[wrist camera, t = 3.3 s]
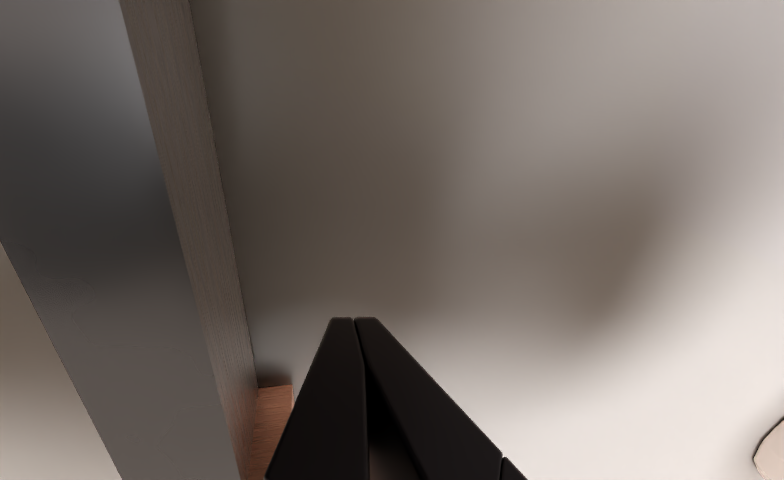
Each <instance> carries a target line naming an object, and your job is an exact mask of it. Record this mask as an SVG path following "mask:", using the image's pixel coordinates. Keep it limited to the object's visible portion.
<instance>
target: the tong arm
mask: <svg viewBox="0 0 784 480" xmlns="http://www.w3.org/2000/svg"><path fill="white" fill-rule="evenodd" d="M0 241H1V243H2V245H3V247H4V249H5V251H6V253H7V255H8V257H9V259H10V261H11V263H12V265H13V267H14V269H15V271H16V273H17V275H18V276H19V278H20V280H21V282H22V284H23V286H24V288H25V290H26V292H27V294H28V296H29V298H30V300H31V302H32V304H33V306H34V308H35V310H36V312H37V314H38V316H39V318H40V320H41V321H42V323H43V325H44V327H45V329H46V331H47V333H48V335H49V337H50V339H51V341H52V343H53V345H54V347H55V349H56V351H57V353H58V355H59V357H60V359H61V361H62V363H63V364H64V366H65V368H66V370H67V372H68V374H69V376H70V378H71V380H72V382H73V384H74V386H75V388H76V390H77V392H78V394H79V396H80V398H81V400H82V402H83V404H84V406H85V408H86V409H87V411H88V413H89V415H90V417H91V419H92V421H93V423H94V425H95V427H96V429H97V431H98V433H99V435H100V437H101V439H102V441H103V443H104V445H105V447H106V449H107V451H108V453H109V454H110V456H111V458H112V460H113V462H114V464H115V466H116V468H117V470H118V472H119V474H120V476H121V478H122V480H263V477H264V475H265V472H266V470H267V468H268V465H269V463H270V461H271V458H272V456H273V453H274V451H275V449H276V446H277V444H278V442H279V439H280V437H281V435H282V432H283V430H284V428H285V425H286V423H287V420H288V418H289V416H290V413H291V411H292V409H293V406H294V395H293V387H292V384H291V385H283V386H275V387H266V388H259V387H258V382H257V376H256V371H255V365H254V359H253V354H252V348H251V343H250V337H249V331H248V326H247V320H246V315H245V309H244V304H243V298H242V292H241V287H240V281H239V276H238V270H237V265H236V259H235V253H234V248H233V242H232V237H231V231H230V225H229V220H228V214H227V209H226V203H225V198H224V192H223V186H222V181H221V175H220V170H219V164H218V158H217V153H216V147H215V142H214V136H213V131H212V125H211V119H210V114H209V108H208V103H207V97H206V91H205V86H204V80H203V75H202V69H201V64H200V58H199V52H198V47H197V41H196V36H195V30H194V24H193V19H192V13H191V8H190V2H189V0H0Z"/></svg>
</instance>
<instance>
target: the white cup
mask: <svg viewBox="0 0 784 480" xmlns="http://www.w3.org/2000/svg"><path fill="white" fill-rule="evenodd" d="M754 462H755V464H756V467H757V469H758V472H759V473H760V475H761V476H762V477H763V478H764V479H765V480H784V420H783V421H782V422H781V423H780V424H779V425H778V426H776V427H775V428H774V430H773V431H772V432H771V433H770V434H769V435H768V436H767V437H766V438H765V439H764V440H763V442H762V443H761V445H760V447H759V449H758V451H757V453H756V455H755V457H754Z"/></svg>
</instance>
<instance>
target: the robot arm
mask: <svg viewBox="0 0 784 480" xmlns="http://www.w3.org/2000/svg"><path fill="white" fill-rule="evenodd" d="M502 456H503V454H502V452H501V451H500V450H499V449H498V448H497V447H496V446H495V444H494V443H493V442H492V441H491V440H490V439H489V438H488V437H487V436H486V435H485V434H484V433H483V432H482V431H481V430H480V428H479V427H478V426H477V425H476V424H475V423H474V422H473V421H472V420H471V419H470V418H469V417H468V416H467V415H466V413H465V412H464V411H463V410H462V409H461V408H460V407H459V406H458V405H457V404H456V403H455V402H454V401H453V400H452V398H451V397H450V396H449V395H448V394H447V393H446V392H445V391H444V390H443V389H442V388H441V387H440V386H439V385H438V384H437V382H436V381H435V380H434V379H433V378H432V377H431V376H430V375H429V374H428V373H427V372H426V371H425V370H424V369H423V367H422V366H421V365H420V364H419V363H418V362H417V361H416V360H415V359H414V358H413V357H412V356H411V355H410V354H409V352H408V351H407V350H406V349H405V348H404V347H403V346H402V345H401V344H400V343H399V342H398V341H397V340H396V339H395V338H394V336H393V335H392V334H391V333H390V332H389V331H388V330H387V329H386V328H385V327H384V326H383V325H382V324H381V323H380V321H379V320H378V319H376V318H375V317H356V318H355V319H354V320H353V319H352V318H351V317H333V318H331V320H330V321H329V324H328V326H327V329H326V331H325V333H324V336H323V338H322V340H321V343H320V345H319V347H318V350H317V352H316V354H315V357H314V359H313V362H312V364H311V366H310V369H309V371H308V373H307V376H306V378H305V380H304V383H303V385H302V387H301V390H300V392H299V395H298V397H297V399H296V402H295V404H294V406H293V409H292V411H291V413H290V416H289V418H288V420H287V423H286V425H285V428H284V430H283V432H282V435H281V437H280V439H279V442H278V444H277V446H276V449H275V451H274V453H273V456H272V458H271V461H270V463H269V465H268V468H267V470H266V472H265V475H264V477H263V480H528V479H527V478H526V477H525V476H524V475H523V474H522V473H521V472H520V471H519V470H518V469H517V468H516V467H515V466H514V465H513V463H512V462H511V461H510V460H509V459H508V458H507V457H503V458H502Z"/></svg>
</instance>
